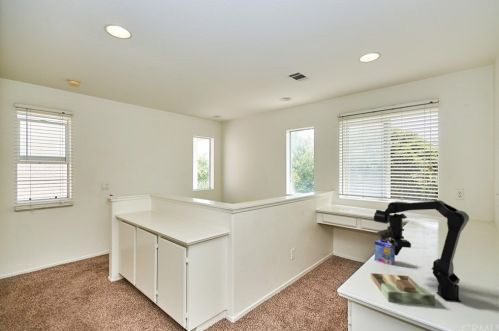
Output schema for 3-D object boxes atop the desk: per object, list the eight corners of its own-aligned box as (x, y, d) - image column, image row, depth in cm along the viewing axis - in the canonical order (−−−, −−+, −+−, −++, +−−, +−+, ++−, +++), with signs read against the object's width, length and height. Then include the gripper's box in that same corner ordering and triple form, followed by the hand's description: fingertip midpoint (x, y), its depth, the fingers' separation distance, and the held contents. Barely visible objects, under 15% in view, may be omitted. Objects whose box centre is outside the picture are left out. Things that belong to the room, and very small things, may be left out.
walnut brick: (407, 288, 107) (407, 280, 107) (415, 297, 100) (415, 288, 100) (396, 288, 108) (396, 279, 108) (403, 296, 101) (403, 287, 101)
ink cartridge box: (374, 260, 146) (374, 237, 146) (377, 258, 149) (377, 235, 149) (391, 265, 138) (391, 241, 138) (395, 263, 142) (395, 239, 142)
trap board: (408, 280, 120) (408, 271, 120) (434, 305, 98) (434, 295, 98) (370, 277, 123) (370, 269, 123) (388, 301, 101) (388, 291, 101)
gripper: (373, 220, 133) (372, 248, 133) (386, 229, 115) (386, 261, 115) (394, 221, 131) (394, 249, 131) (411, 230, 113) (411, 262, 113)
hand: (395, 255), depth 123 cm, fingers closed
